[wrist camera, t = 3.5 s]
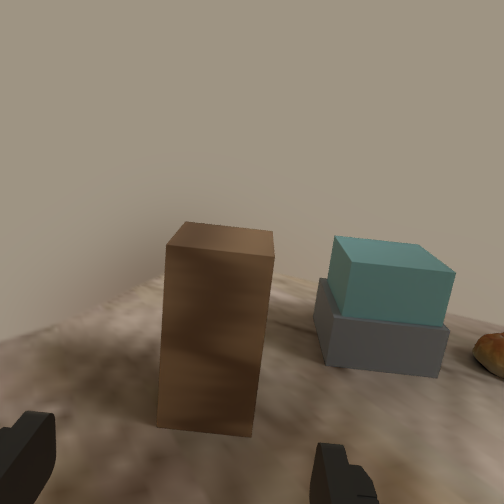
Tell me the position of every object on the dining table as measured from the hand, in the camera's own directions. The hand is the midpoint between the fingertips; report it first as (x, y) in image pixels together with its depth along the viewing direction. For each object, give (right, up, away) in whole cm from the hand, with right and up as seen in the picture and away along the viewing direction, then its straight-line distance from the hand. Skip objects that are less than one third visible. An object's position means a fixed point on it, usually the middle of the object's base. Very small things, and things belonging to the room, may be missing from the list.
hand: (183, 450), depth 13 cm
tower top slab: (+12, +2, +20) cm, 23 cm away
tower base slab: (+11, -2, +21) cm, 24 cm away
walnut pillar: (0, -3, +12) cm, 12 cm away
